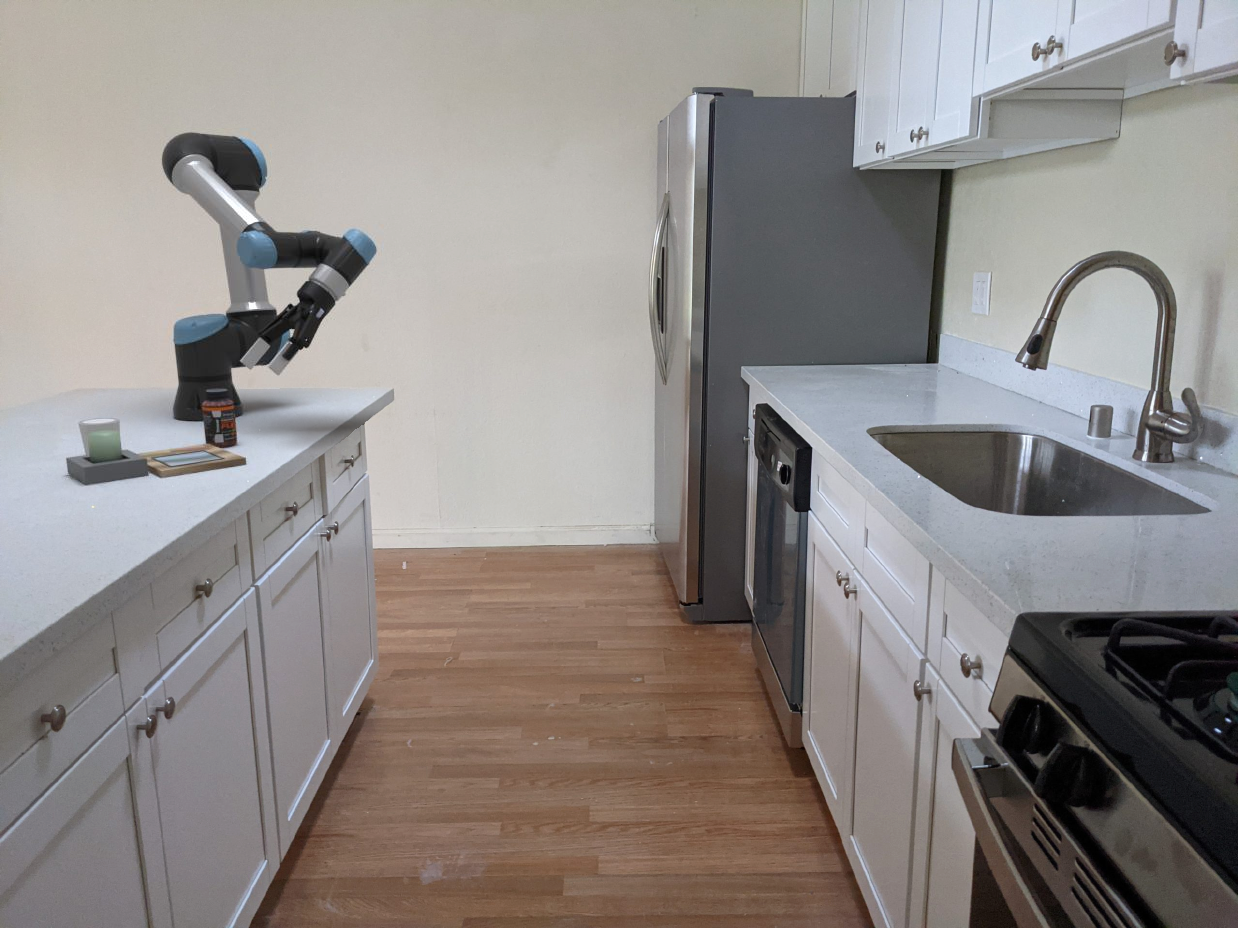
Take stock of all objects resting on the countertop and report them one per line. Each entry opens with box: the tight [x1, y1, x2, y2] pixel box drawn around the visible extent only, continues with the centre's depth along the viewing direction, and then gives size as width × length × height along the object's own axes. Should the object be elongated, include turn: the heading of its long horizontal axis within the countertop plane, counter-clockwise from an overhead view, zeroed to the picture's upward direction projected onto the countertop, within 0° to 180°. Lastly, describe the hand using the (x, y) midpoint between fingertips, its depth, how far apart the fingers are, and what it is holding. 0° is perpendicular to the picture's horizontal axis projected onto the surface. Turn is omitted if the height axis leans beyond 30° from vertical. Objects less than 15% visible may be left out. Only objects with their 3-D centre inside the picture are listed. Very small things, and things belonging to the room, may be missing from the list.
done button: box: [87, 430, 123, 464], centre depth 161 cm, size 5×5×5 cm
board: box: [137, 443, 247, 478], centre depth 172 cm, size 17×15×1 cm
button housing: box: [65, 449, 149, 486], centre depth 162 cm, size 10×10×3 cm
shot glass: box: [77, 417, 121, 455], centre depth 176 cm, size 7×7×7 cm
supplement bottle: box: [202, 389, 238, 448], centre depth 186 cm, size 6×6×11 cm
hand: (258, 368), depth 189 cm, fingers open, 13 cm apart
